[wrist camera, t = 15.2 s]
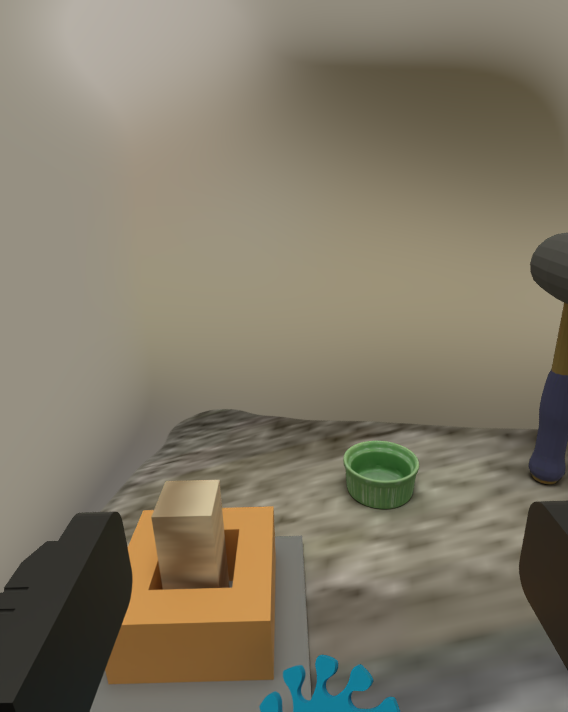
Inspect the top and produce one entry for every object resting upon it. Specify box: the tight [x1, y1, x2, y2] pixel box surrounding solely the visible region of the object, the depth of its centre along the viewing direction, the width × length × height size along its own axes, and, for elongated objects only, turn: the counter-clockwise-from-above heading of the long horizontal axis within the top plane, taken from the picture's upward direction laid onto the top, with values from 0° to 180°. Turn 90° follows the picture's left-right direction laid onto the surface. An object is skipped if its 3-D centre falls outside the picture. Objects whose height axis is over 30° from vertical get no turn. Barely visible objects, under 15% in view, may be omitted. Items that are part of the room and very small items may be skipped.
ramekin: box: [343, 441, 419, 509], centre depth 58 cm, size 9×9×4 cm
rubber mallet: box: [529, 233, 568, 484], centre depth 54 cm, size 12×8×30 cm, turn 174°
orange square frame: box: [90, 507, 311, 712], centre depth 40 cm, size 18×18×7 cm
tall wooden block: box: [151, 480, 230, 590], centre depth 39 cm, size 4×4×12 cm
